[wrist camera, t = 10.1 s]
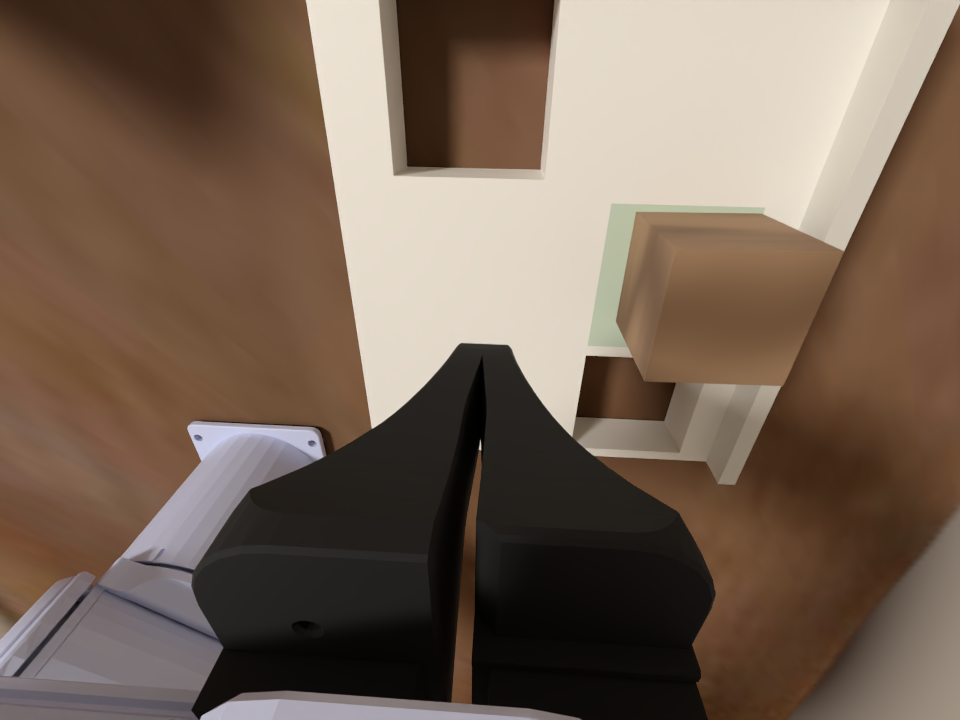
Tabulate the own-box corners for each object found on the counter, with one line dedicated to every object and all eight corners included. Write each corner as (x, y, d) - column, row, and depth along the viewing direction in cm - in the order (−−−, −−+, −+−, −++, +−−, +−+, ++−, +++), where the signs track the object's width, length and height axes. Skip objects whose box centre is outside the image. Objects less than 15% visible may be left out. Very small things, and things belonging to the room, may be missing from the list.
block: (724, 324, 18) (783, 385, 14) (615, 321, 18) (644, 381, 14) (761, 213, 16) (844, 251, 12) (636, 211, 16) (676, 248, 12)
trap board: (702, 430, 24) (734, 484, 21) (385, 414, 25) (366, 465, 21) (884, -54, 14) (1010, -104, 10) (325, -55, 14) (268, -103, 11)
